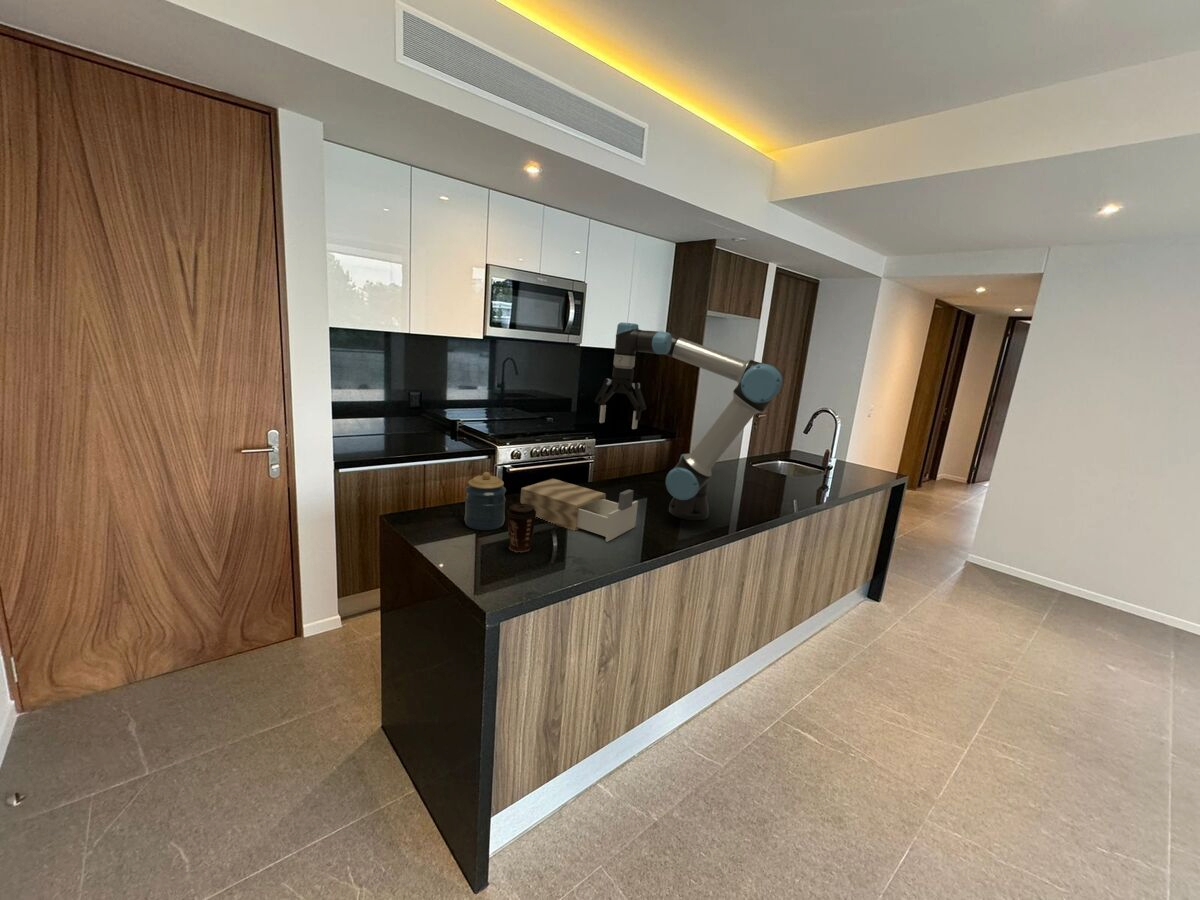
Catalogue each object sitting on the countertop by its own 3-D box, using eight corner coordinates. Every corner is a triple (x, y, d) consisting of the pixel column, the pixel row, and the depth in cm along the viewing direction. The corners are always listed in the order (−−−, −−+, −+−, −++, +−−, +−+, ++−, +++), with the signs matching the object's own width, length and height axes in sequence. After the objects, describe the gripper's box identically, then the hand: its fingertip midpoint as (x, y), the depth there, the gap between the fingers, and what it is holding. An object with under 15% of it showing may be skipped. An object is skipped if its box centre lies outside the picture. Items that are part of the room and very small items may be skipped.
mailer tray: (637, 527, 173) (642, 486, 170) (610, 542, 158) (614, 498, 155) (579, 509, 186) (582, 471, 182) (549, 521, 171) (552, 480, 168)
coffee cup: (515, 539, 155) (517, 499, 152) (539, 545, 152) (542, 505, 149) (500, 549, 147) (502, 508, 144) (524, 556, 144) (527, 514, 141)
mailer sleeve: (603, 517, 180) (605, 493, 178) (574, 531, 165) (576, 505, 163) (551, 500, 193) (552, 478, 191) (519, 512, 178) (521, 488, 176)
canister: (457, 527, 160) (458, 474, 156) (474, 514, 172) (476, 464, 168) (495, 533, 158) (498, 480, 154) (510, 519, 170) (512, 469, 166)
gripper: (588, 363, 181) (583, 421, 186) (650, 371, 170) (644, 432, 174) (599, 363, 188) (594, 419, 193) (659, 371, 176) (653, 430, 181)
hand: (617, 425), depth 184 cm, fingers open, 13 cm apart
